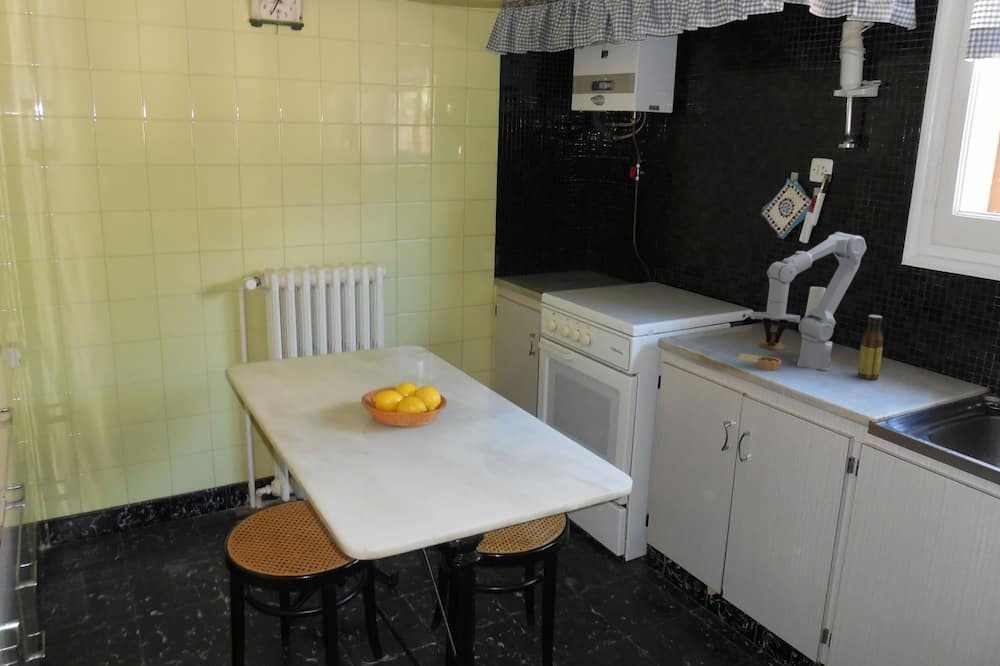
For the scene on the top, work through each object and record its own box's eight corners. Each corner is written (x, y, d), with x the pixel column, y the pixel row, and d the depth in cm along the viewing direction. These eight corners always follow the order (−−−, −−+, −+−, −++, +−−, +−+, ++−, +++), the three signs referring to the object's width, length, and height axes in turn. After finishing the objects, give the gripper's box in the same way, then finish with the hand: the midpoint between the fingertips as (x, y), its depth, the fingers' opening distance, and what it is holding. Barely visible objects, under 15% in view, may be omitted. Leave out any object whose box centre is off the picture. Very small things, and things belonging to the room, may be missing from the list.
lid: (782, 344, 257) (784, 329, 256) (787, 351, 249) (789, 337, 248) (755, 342, 258) (757, 327, 257) (759, 349, 251) (761, 335, 249)
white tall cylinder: (827, 360, 266) (833, 288, 261) (810, 361, 264) (816, 289, 259) (813, 355, 272) (819, 286, 268) (797, 356, 270) (802, 286, 266)
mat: (767, 358, 267) (768, 357, 267) (765, 364, 260) (765, 363, 260) (740, 354, 270) (740, 353, 270) (736, 360, 263) (737, 359, 263)
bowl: (781, 367, 257) (782, 358, 257) (779, 373, 251) (780, 364, 250) (758, 364, 260) (759, 355, 259) (756, 370, 254) (757, 361, 253)
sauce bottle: (874, 374, 253) (884, 314, 248) (881, 380, 247) (891, 319, 242) (853, 373, 254) (862, 312, 249) (859, 379, 248) (869, 317, 243)
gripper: (799, 299, 252) (794, 340, 256) (752, 296, 255) (747, 337, 258) (803, 304, 246) (797, 346, 249) (754, 300, 248) (749, 342, 252)
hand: (772, 342), depth 253 cm, fingers closed on lid, 2 cm apart
